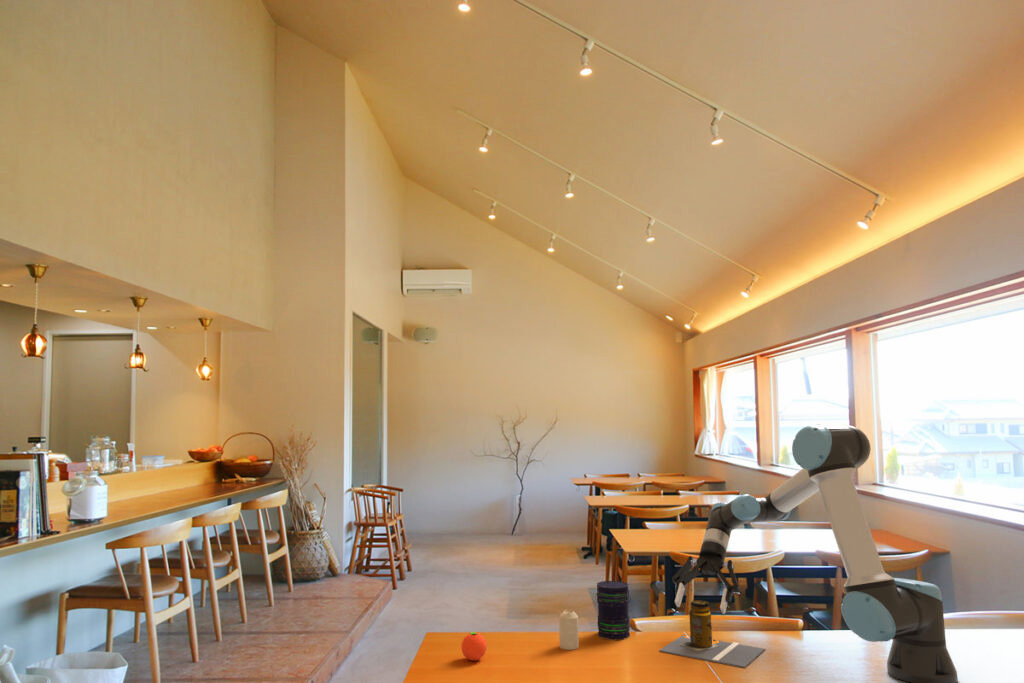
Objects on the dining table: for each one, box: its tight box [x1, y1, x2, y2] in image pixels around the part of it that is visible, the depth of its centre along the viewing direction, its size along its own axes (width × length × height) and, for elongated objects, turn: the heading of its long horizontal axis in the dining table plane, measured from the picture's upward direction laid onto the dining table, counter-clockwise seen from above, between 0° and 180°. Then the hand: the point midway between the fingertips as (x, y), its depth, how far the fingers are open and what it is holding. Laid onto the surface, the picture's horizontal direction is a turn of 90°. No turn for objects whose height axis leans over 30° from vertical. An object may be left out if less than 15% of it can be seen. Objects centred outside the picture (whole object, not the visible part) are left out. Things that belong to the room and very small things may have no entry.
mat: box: [658, 635, 766, 669], centre depth 190 cm, size 24×18×1 cm
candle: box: [558, 609, 580, 651], centre depth 195 cm, size 6×6×10 cm
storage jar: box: [596, 580, 631, 641], centre depth 207 cm, size 10×10×15 cm
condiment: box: [680, 599, 718, 651], centre depth 194 cm, size 7×8×12 cm
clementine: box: [460, 631, 488, 661], centre depth 185 cm, size 8×7×7 cm
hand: (699, 607), depth 196 cm, fingers open, 13 cm apart
